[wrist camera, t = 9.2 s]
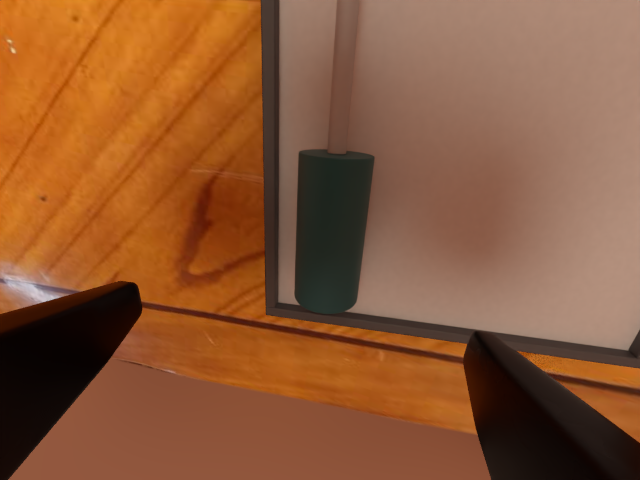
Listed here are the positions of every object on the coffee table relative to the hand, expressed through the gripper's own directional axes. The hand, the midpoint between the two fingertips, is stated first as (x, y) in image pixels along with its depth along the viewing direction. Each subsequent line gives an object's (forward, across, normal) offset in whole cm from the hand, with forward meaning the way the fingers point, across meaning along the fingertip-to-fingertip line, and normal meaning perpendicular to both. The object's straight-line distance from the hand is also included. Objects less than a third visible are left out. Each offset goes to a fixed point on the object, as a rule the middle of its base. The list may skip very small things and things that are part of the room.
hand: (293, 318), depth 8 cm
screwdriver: (+8, 0, -4) cm, 9 cm away
